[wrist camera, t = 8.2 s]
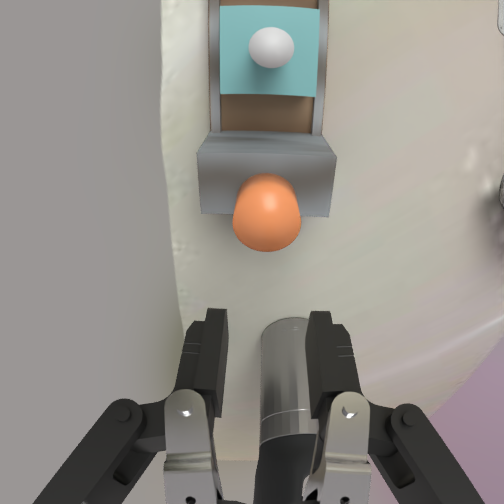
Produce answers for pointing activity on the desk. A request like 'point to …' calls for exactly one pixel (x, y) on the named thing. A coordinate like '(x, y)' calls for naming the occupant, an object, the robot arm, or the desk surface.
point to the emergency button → (501, 16)
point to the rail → (266, 131)
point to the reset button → (266, 213)
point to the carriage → (269, 50)
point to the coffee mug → (502, 192)
